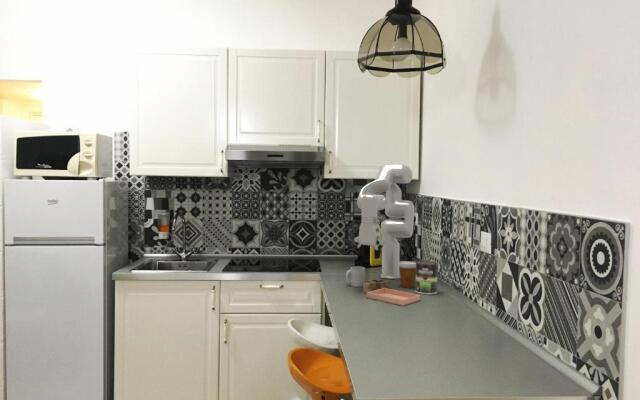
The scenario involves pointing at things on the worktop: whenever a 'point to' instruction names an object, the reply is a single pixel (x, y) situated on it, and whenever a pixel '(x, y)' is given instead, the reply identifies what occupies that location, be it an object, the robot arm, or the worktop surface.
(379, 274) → the grey piece
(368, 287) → the brown square frame
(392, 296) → the tray
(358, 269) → the cup
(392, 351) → the worktop surface
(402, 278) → the disposable coffee cup
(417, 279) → the coffee can
